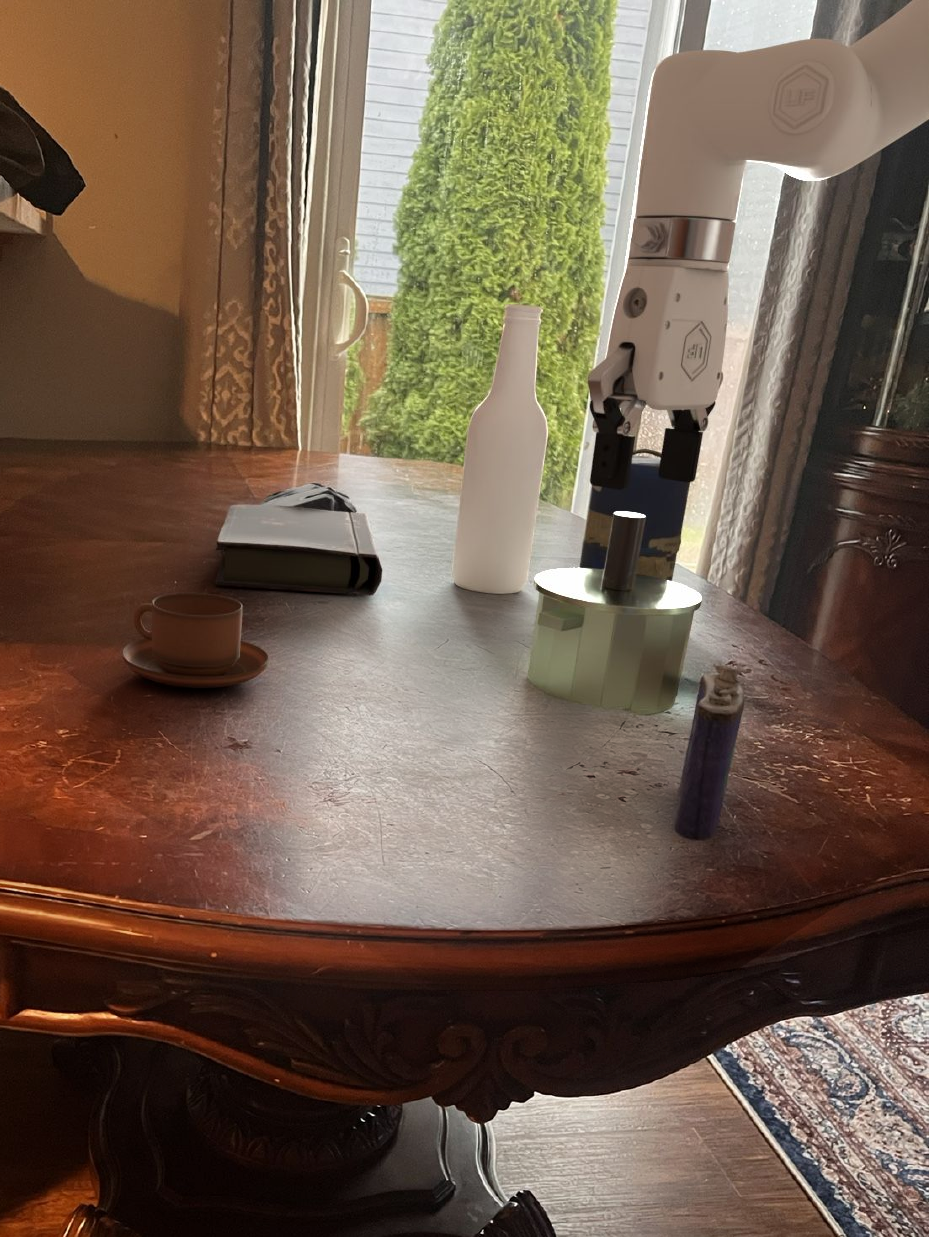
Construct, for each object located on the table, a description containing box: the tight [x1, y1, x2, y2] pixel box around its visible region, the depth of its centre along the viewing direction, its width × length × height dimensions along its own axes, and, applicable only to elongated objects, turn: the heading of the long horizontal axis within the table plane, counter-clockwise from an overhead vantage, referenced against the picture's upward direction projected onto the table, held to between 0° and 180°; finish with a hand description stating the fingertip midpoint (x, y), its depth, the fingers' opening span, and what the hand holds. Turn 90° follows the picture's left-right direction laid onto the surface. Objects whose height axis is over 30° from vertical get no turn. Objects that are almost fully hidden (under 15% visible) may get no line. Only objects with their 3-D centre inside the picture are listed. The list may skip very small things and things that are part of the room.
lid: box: [533, 512, 703, 616], centre depth 97 cm, size 14×14×7 cm
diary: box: [214, 504, 383, 596], centre depth 136 cm, size 19×25×5 cm
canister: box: [578, 448, 691, 582], centre depth 118 cm, size 10×10×18 cm
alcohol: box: [450, 303, 549, 595], centre depth 130 cm, size 9×9×30 cm
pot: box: [526, 592, 695, 716], centre depth 100 cm, size 13×18×8 cm
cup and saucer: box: [122, 592, 270, 689], centre depth 96 cm, size 12×12×6 cm
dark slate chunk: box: [260, 482, 358, 513], centre depth 166 cm, size 15×22×5 cm
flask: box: [674, 662, 748, 842], centre depth 75 cm, size 9×3×11 cm, turn 162°
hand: (643, 483), depth 94 cm, fingers open, 9 cm apart
